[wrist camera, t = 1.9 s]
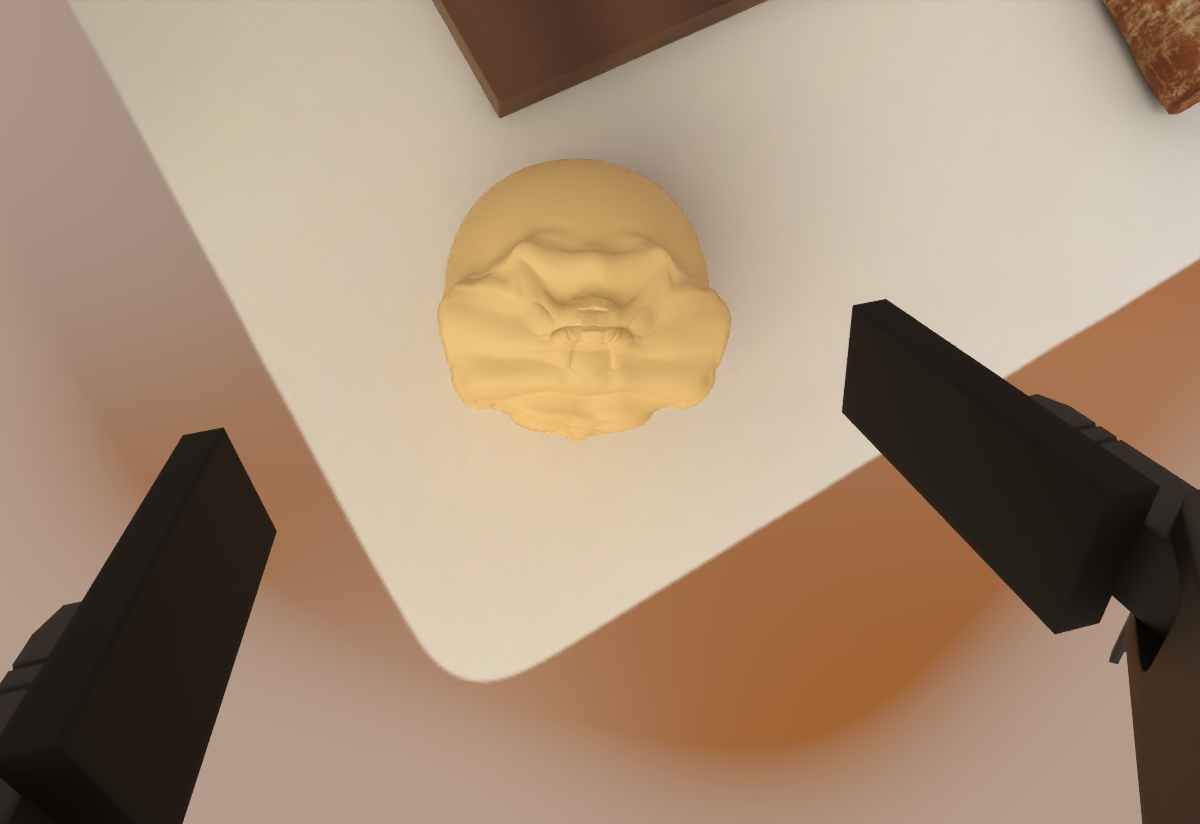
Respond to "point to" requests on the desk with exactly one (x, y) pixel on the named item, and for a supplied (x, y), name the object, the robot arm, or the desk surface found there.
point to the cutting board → (566, 39)
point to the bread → (1164, 46)
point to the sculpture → (580, 301)
